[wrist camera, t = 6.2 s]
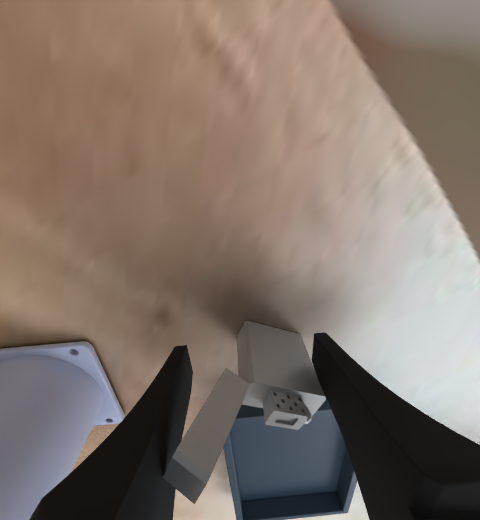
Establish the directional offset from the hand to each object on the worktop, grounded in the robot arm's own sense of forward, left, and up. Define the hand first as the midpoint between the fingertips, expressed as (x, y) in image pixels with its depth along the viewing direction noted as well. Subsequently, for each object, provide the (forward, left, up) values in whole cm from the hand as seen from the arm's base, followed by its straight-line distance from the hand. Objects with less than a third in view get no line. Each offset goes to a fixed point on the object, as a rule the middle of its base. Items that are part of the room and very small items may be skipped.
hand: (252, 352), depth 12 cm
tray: (+3, -15, -2) cm, 15 cm away
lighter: (0, -1, -3) cm, 3 cm away
